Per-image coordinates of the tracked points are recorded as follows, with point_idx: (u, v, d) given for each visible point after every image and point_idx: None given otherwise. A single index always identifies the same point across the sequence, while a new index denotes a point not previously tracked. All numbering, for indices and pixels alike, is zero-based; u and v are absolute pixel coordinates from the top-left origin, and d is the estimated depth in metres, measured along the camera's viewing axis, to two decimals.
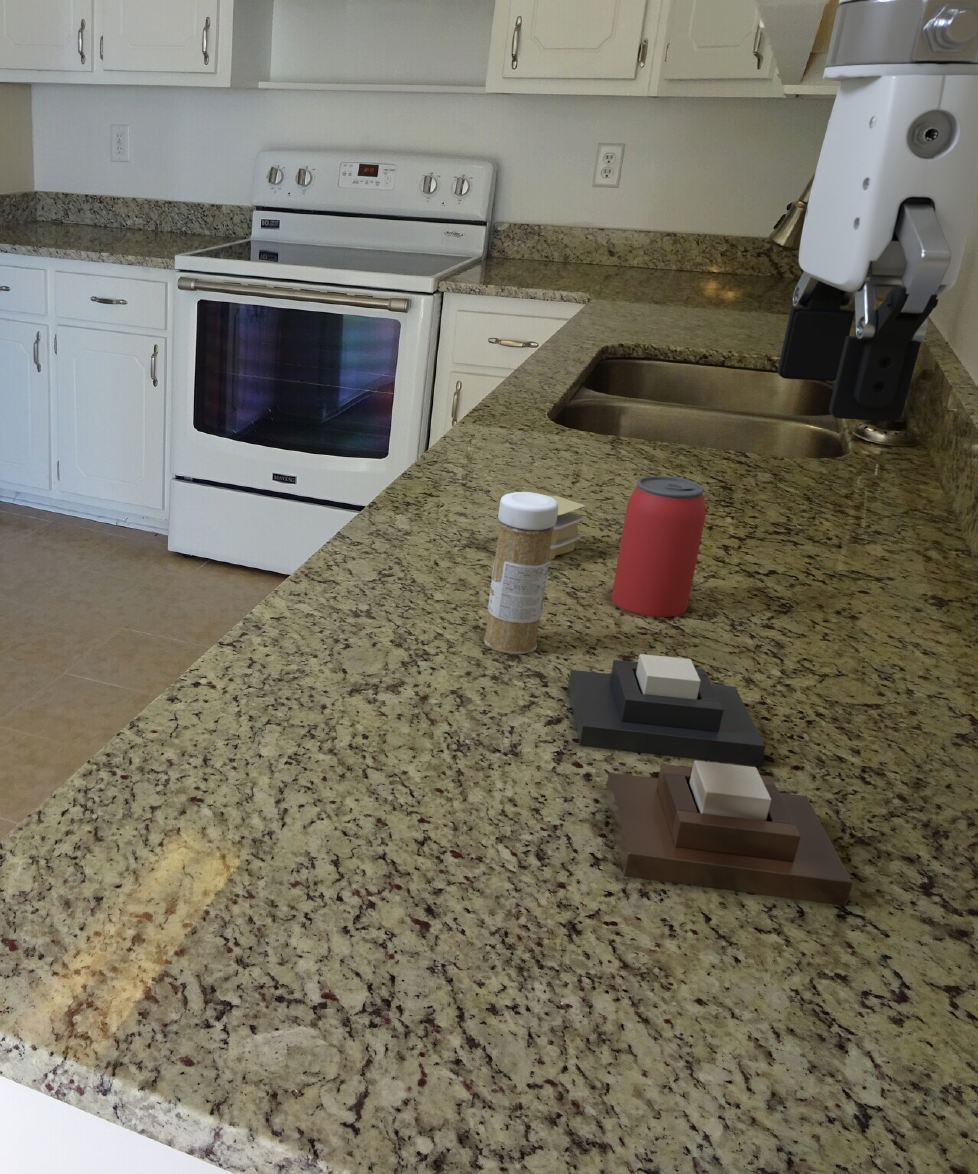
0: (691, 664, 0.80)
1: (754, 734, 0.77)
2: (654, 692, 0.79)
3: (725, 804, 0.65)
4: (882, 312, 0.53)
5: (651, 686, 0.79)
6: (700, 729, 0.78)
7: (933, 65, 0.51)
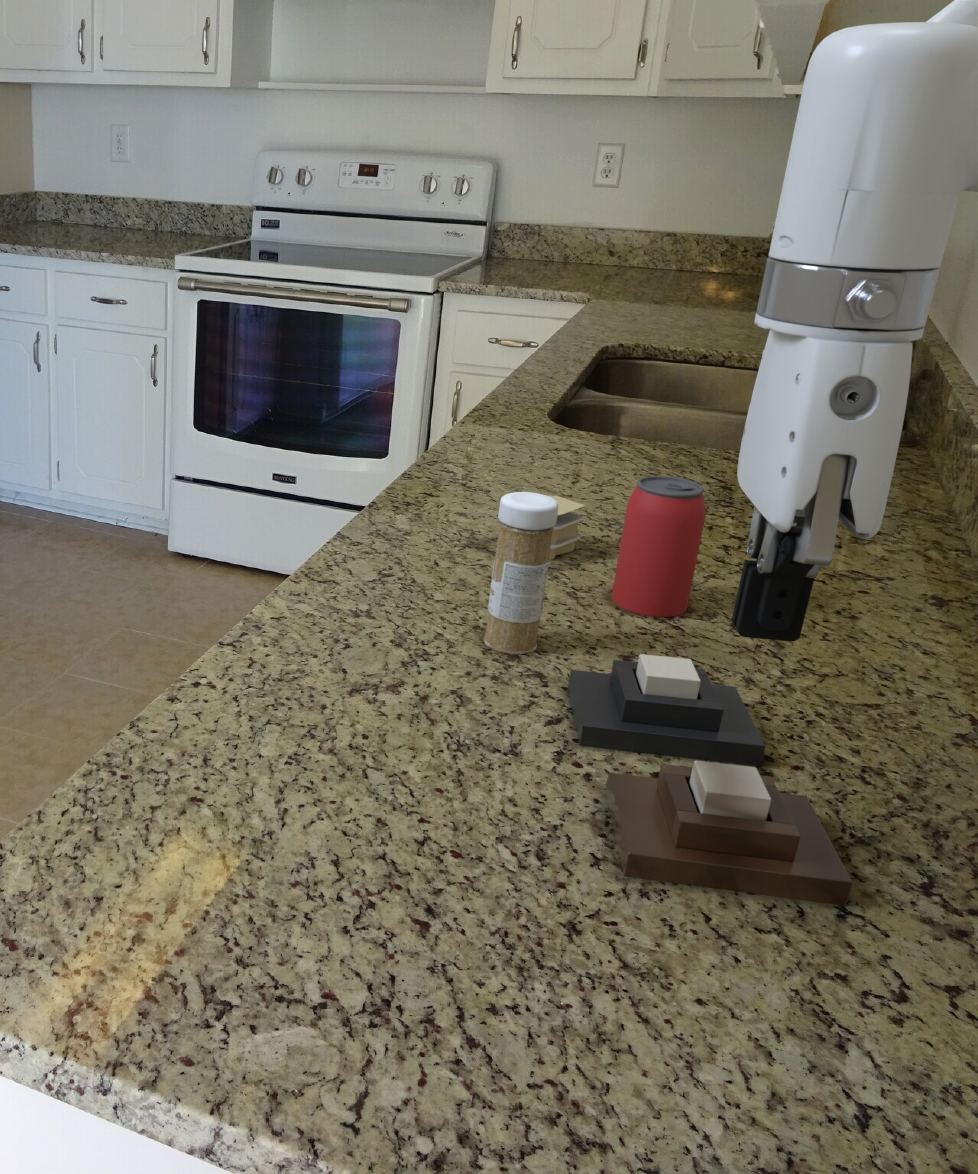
0: (691, 664, 0.80)
1: (754, 734, 0.77)
2: (654, 692, 0.79)
3: (725, 804, 0.65)
4: (778, 554, 0.59)
5: (651, 686, 0.79)
6: (700, 729, 0.78)
7: (854, 332, 0.53)
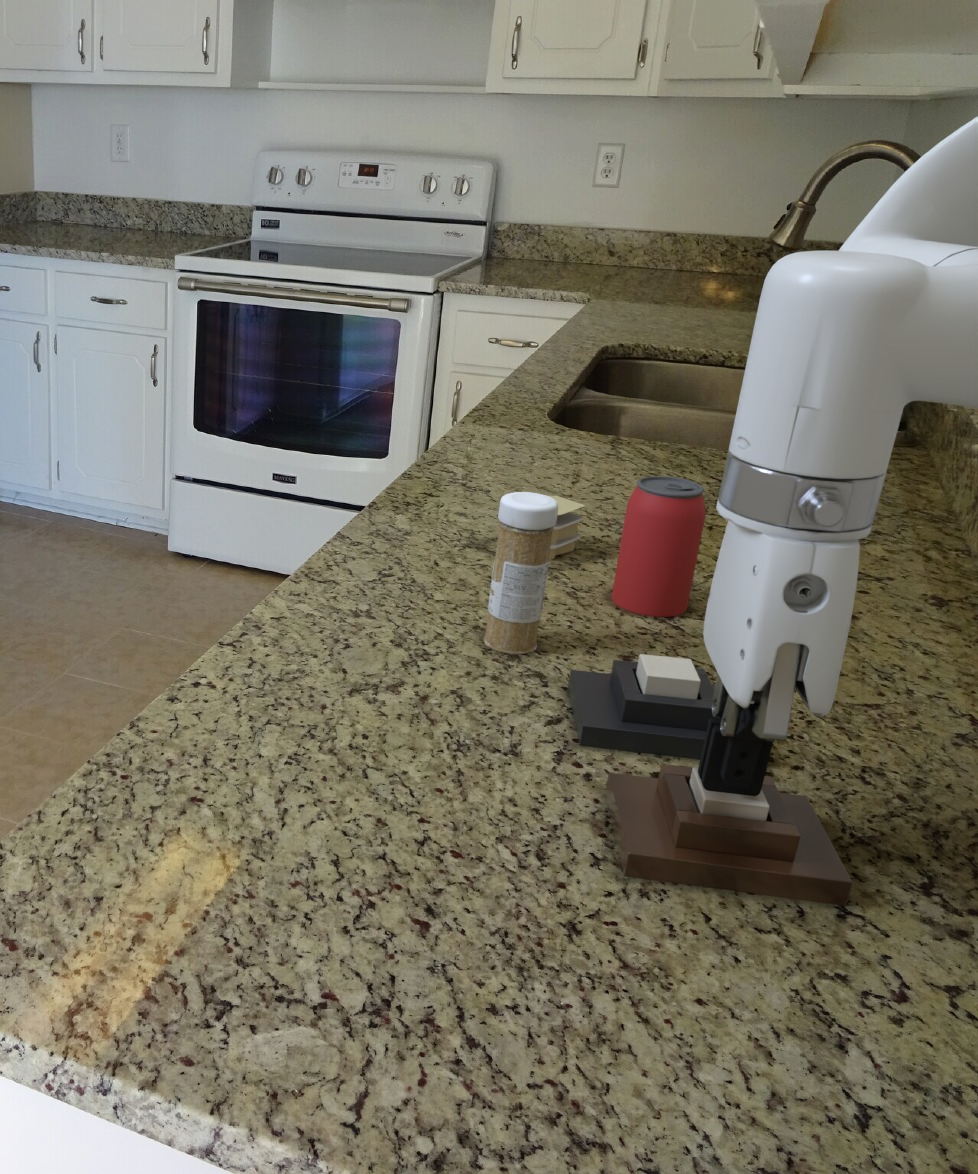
0: (691, 664, 0.80)
1: None
2: (654, 692, 0.79)
3: (723, 811, 0.65)
4: (739, 720, 0.63)
5: (651, 686, 0.79)
6: (700, 729, 0.78)
7: (806, 532, 0.56)
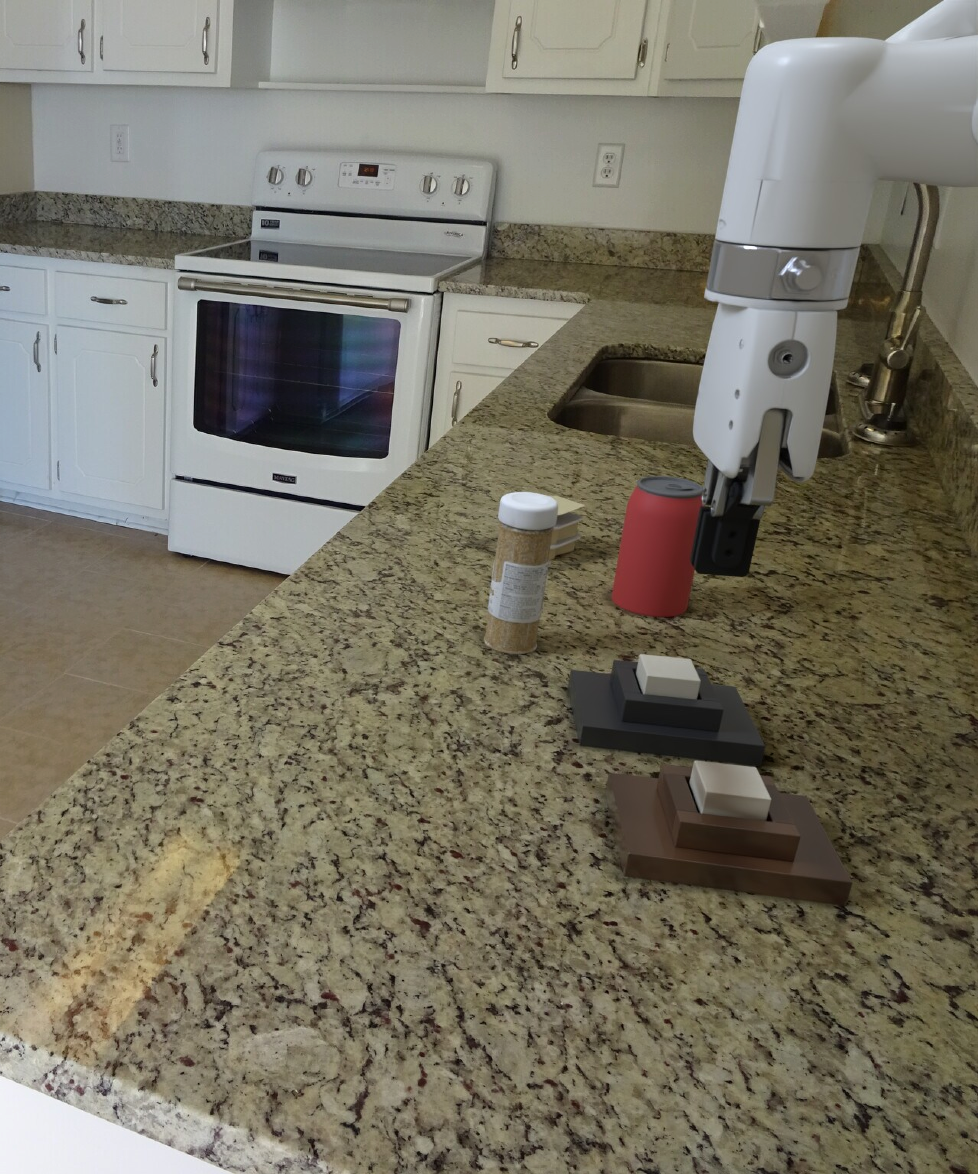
0: (691, 664, 0.80)
1: (754, 734, 0.77)
2: (654, 692, 0.79)
3: (725, 804, 0.65)
4: (728, 498, 0.68)
5: (651, 686, 0.79)
6: (700, 729, 0.78)
7: (788, 302, 0.61)
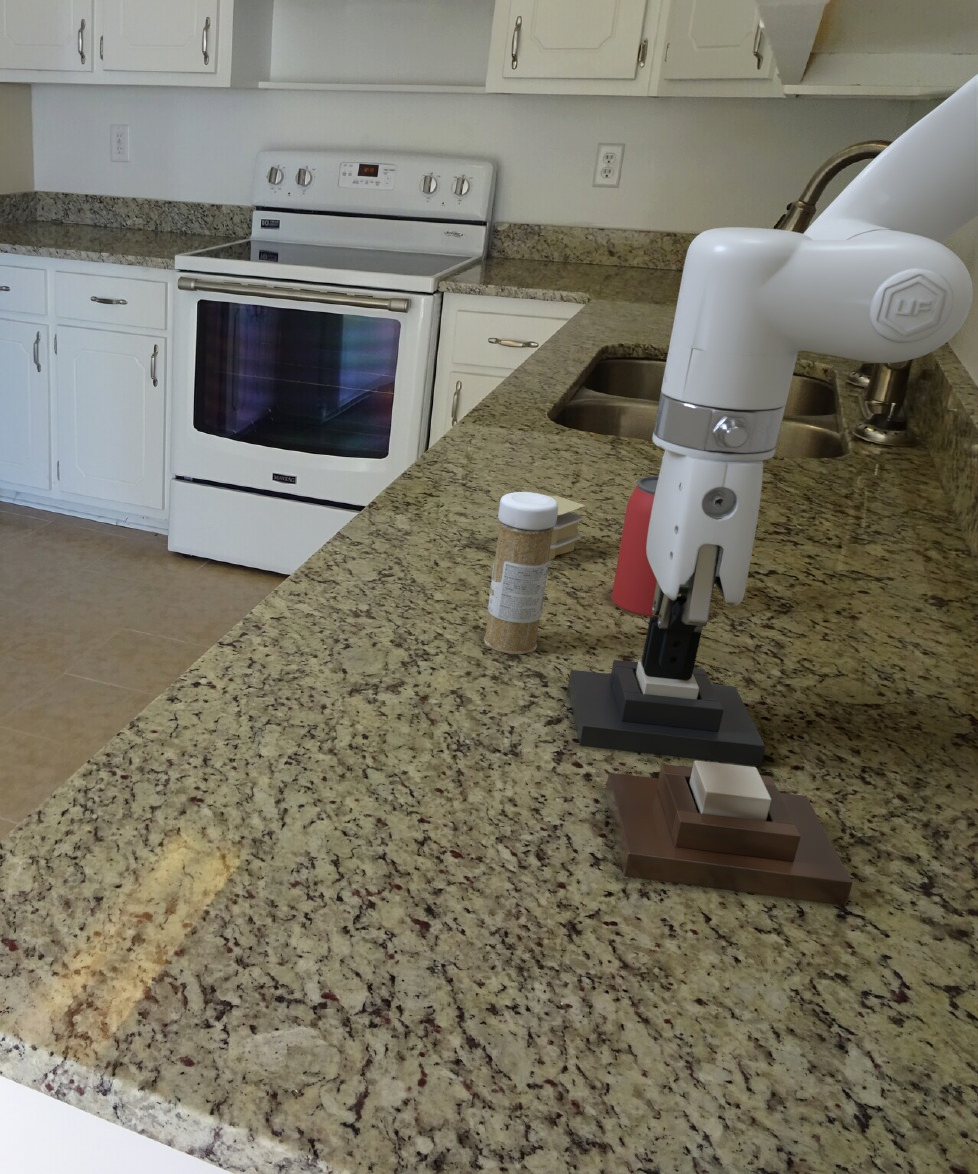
0: None
1: (754, 734, 0.77)
2: None
3: (725, 804, 0.65)
4: (672, 614, 0.77)
5: (650, 693, 0.79)
6: (700, 729, 0.78)
7: (720, 454, 0.70)
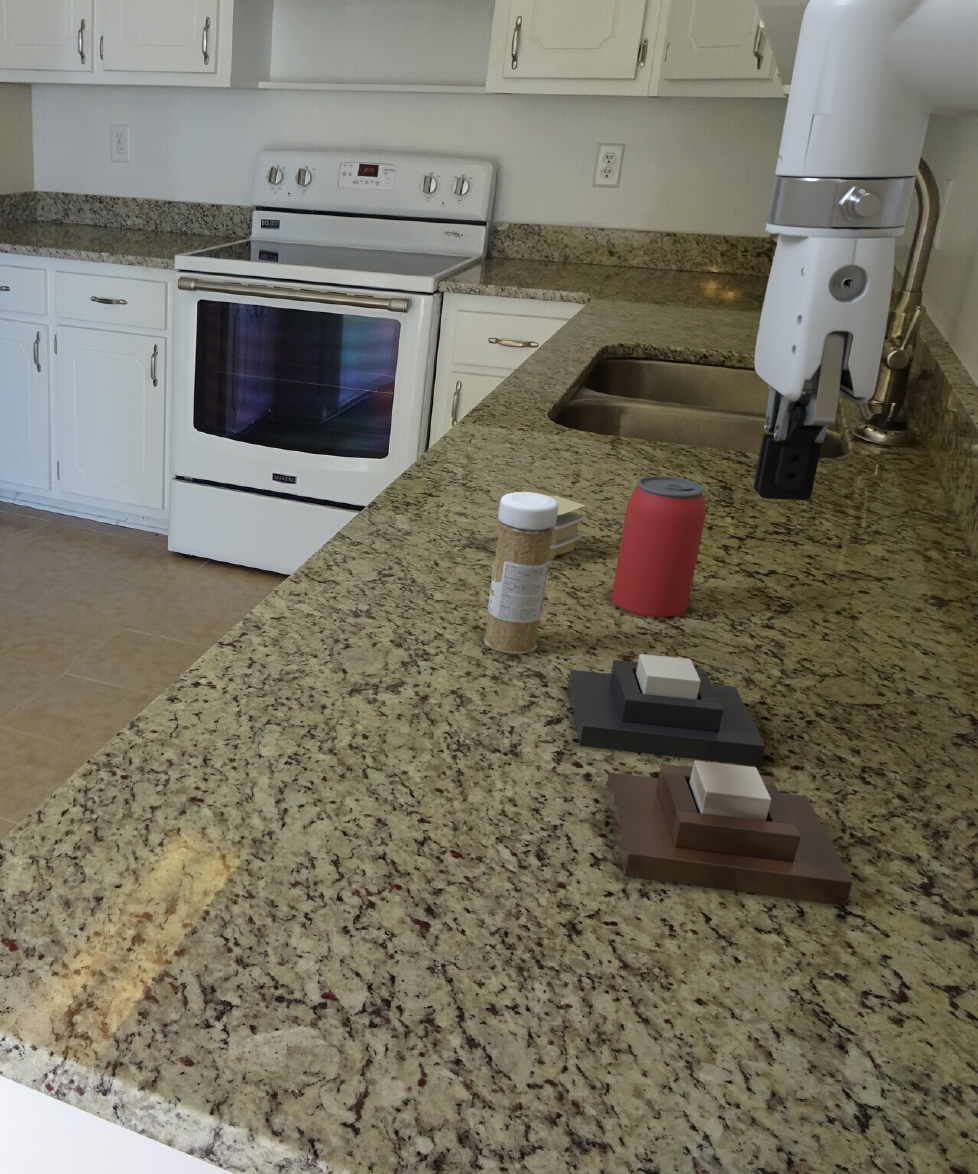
0: (691, 664, 0.80)
1: (754, 734, 0.77)
2: (654, 692, 0.79)
3: (725, 804, 0.65)
4: (791, 423, 0.71)
5: (651, 686, 0.79)
6: (700, 729, 0.78)
7: (847, 230, 0.65)
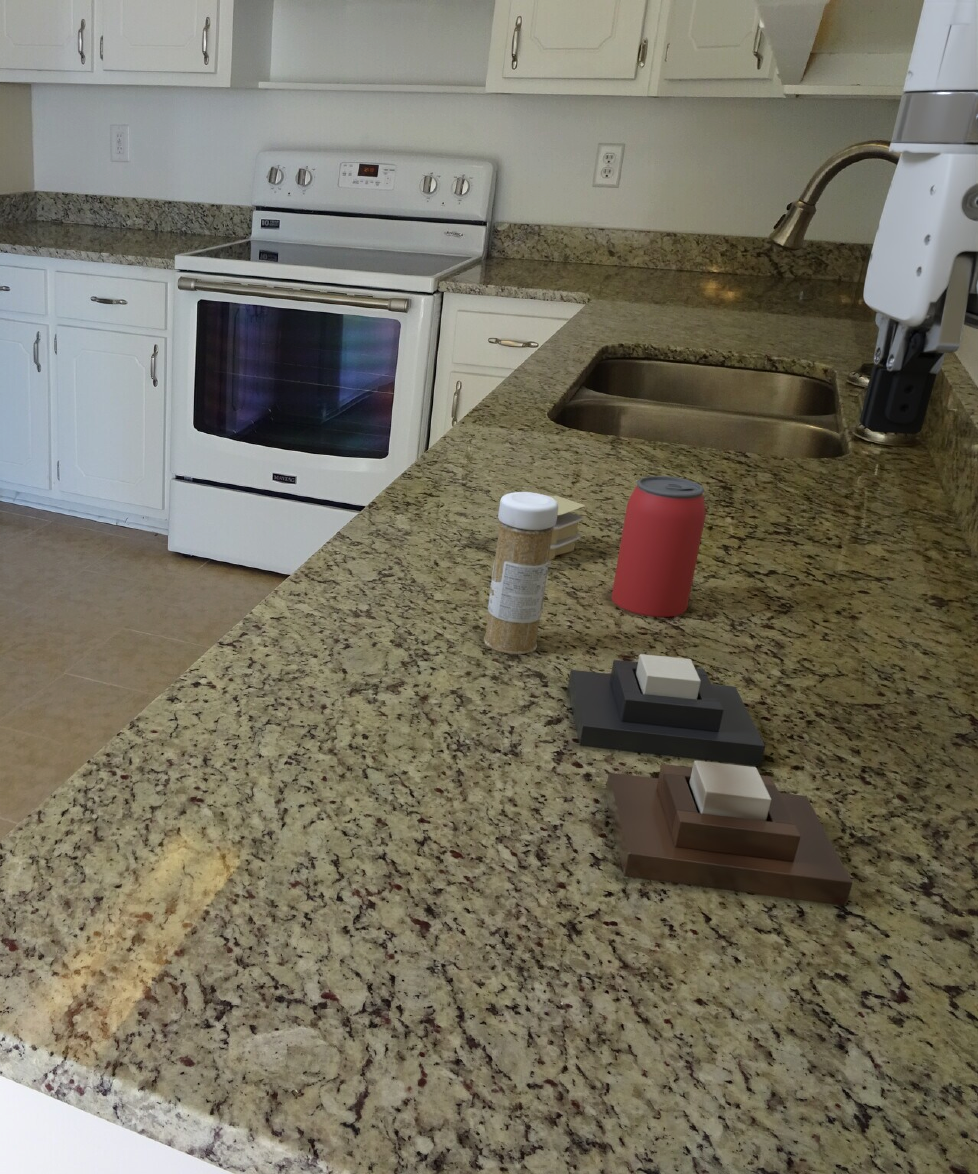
0: (691, 664, 0.80)
1: (754, 734, 0.77)
2: (654, 692, 0.79)
3: (725, 804, 0.65)
4: (907, 351, 0.69)
5: (651, 686, 0.79)
6: (700, 729, 0.78)
7: None
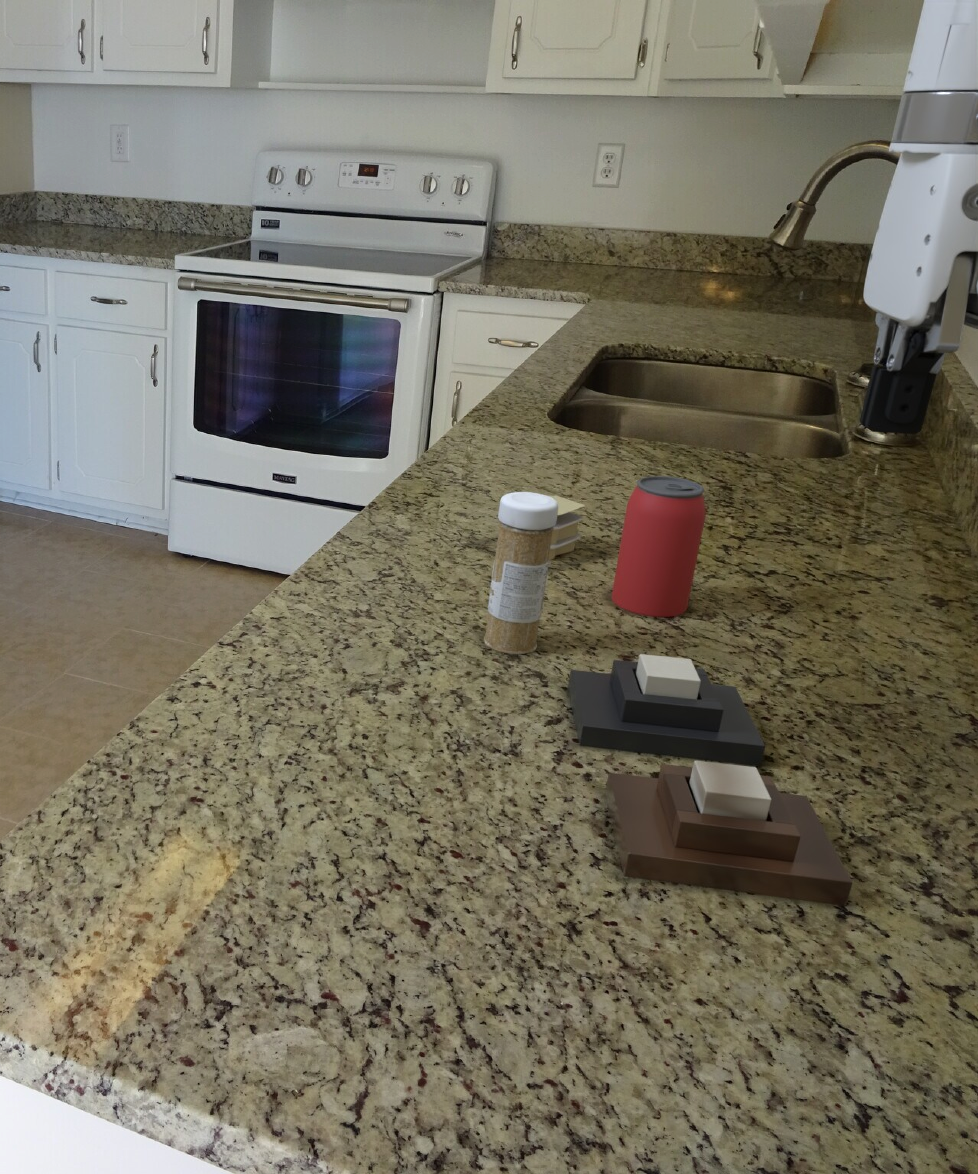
0: (691, 664, 0.80)
1: (754, 734, 0.77)
2: (654, 692, 0.79)
3: (725, 804, 0.65)
4: (907, 351, 0.69)
5: (651, 686, 0.79)
6: (700, 729, 0.78)
7: None
